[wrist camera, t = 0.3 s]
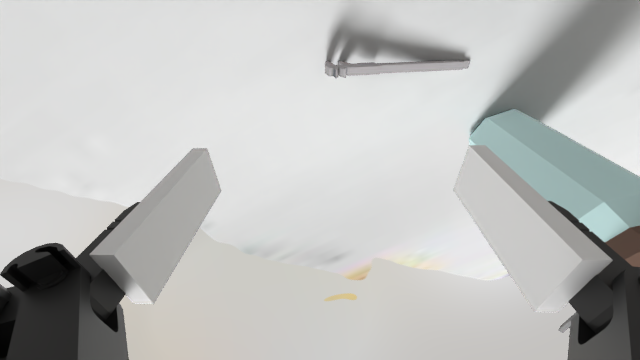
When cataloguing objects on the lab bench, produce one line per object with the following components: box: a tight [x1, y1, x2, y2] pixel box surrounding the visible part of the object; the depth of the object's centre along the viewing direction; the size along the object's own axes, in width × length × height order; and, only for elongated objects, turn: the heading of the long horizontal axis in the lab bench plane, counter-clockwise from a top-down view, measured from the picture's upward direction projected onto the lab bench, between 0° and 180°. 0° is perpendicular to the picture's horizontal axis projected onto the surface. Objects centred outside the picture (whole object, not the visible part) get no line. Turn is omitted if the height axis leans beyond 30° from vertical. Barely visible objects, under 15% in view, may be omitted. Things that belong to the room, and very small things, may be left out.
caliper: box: [325, 60, 470, 78], centre depth 33 cm, size 20×1×6 cm, turn 91°
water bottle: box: [469, 109, 640, 267], centre depth 31 cm, size 10×10×25 cm
